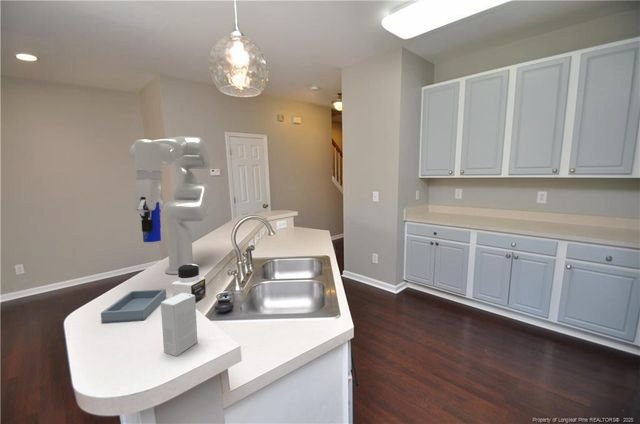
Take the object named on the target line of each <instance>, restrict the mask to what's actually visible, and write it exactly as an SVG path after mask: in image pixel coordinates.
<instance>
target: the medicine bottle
mask: <svg viewBox="0 0 640 424" xmlns="http://www.w3.org/2000/svg"><path fill="white" fill-rule="evenodd" d="M199 267H200V266H199V265H198V264H195V263H193V264H186V265H182V266H181V267H179V268H178V274H177V276H178V280H175V281H174V282H172V283H171V285H172V287H171V289H172V297H174V296H176V295H178V294H180V293H187V294H192V295H195V304H196V305H197V304H198V303H199V302H201V301H203V300H205V299H206V297H207V294H206V291H207V289H206V277H204V276H203V277H202V276H200V268H199Z"/></svg>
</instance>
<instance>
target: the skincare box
mask: <svg viewBox="0 0 640 424" xmlns="http://www.w3.org/2000/svg"><path fill="white" fill-rule="evenodd" d="M196 305H197V303H196V304H195V295H192V294H187V293H180V294H178V295H176V296H174V297H173V296H172V297H169V298H168V299H167V298H166V299H165V300H164V301H162V302H161V304H160V313H161V328H162V341H163V342H162V343H163V352H164V354H169V355H172V356H175V357H177V356H180V355H181V354H182V353H184V352H185V351H186V350H187V351H188V349H189V348H190V347H192V346H194V345H195V344H197V343H198V326H197V307H196Z"/></svg>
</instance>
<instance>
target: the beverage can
mask: <svg viewBox="0 0 640 424" xmlns="http://www.w3.org/2000/svg"><path fill="white" fill-rule="evenodd" d="M145 210H149V209H145ZM147 214H148V213H147ZM160 215H161V212H160V208H159V201H157V202H156V208H155V210H153V211H152V216H151V220H153V231H152V232H142V238H143V241H142V242H143V243H144V244H146V245H150V244H151V245H152V244H158V243H160V242H161V240H162V237H161V236H162V234H161V232H162V231H161V229H160V224H161V217H160Z"/></svg>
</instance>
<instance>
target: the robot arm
mask: <svg viewBox="0 0 640 424" xmlns="http://www.w3.org/2000/svg"><path fill="white" fill-rule="evenodd" d="M129 155H130V158H131V160H132V162H134V163H135V167H134V168H135V187H134V188H135V191H134V193H135V194H134V208H135V210H136V211H137V212H138V213H139V216H140V221H141V232H142V233H143V232H152V231H153V220H151V216H152V211H153V210H155V208H156V202H157V201H159V208H160V213H161V211H162V208H163V214H164V218H165V223H166V229H167V230H166V231H167V251H168V267H166V269H164V270H165V271H164V272H165V274H168V275H178V268H179V267H181V266H182V265H186V264H194V260H193V259H194V256H193V232H192V229H191V227H190V226H189V225H188V224H187V222H188V223H189V222H204V221H205V220H206V219H207V218H208V217H207V216H208V214H209V209H210V205H211V198H212V191H211V187H210V185H208V184H207V183H205V182H198V177H197V176H196V175H195V173H194V172H193V171H191V170H196V169H197V170H206V169H210V168H211V167H212V166H213V161H212V160H213V159H212V155H211V153H210V150H209V148H208V146H207V144H206V142H205V141H204V139H202V138H201V137H199V136H184V135H183V136H181V135H179V136H174V137H170V138H169V137H168V138H162V139H161V138H160V139H154V140H153V139H147V138H146V139H144V138H143V139H142V138H140V139H136V140H134V143H133V144H132V145H131V146H130V149H129ZM171 164H174V167H175V171H176V174H177V181H176V184H175V186H174V191H173V200H170V201H168V202H166V203H165V204H164V206H163V203H164V202H163V191H162V184H161V183H162V182H163V173H162V172H163V171H162V169H163V168H162V167H163V166H162V165H166V166H168V165H171ZM190 169H191V170H190ZM145 209H149V210H145ZM147 213H148V214H147ZM160 218H161V214H160ZM160 230H161V223H160Z"/></svg>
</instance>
